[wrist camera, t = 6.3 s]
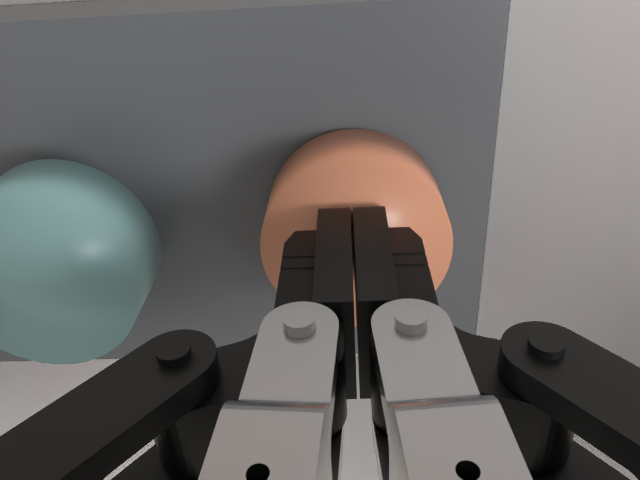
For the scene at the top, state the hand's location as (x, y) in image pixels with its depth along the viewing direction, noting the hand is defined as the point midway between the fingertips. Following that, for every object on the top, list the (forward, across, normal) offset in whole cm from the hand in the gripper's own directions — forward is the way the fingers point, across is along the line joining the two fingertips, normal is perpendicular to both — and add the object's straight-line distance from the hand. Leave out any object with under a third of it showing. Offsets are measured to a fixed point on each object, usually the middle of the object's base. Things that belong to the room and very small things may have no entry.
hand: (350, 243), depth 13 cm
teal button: (+1, +7, 0) cm, 7 cm away
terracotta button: (+2, 0, 0) cm, 2 cm away
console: (+5, +7, 0) cm, 9 cm away
